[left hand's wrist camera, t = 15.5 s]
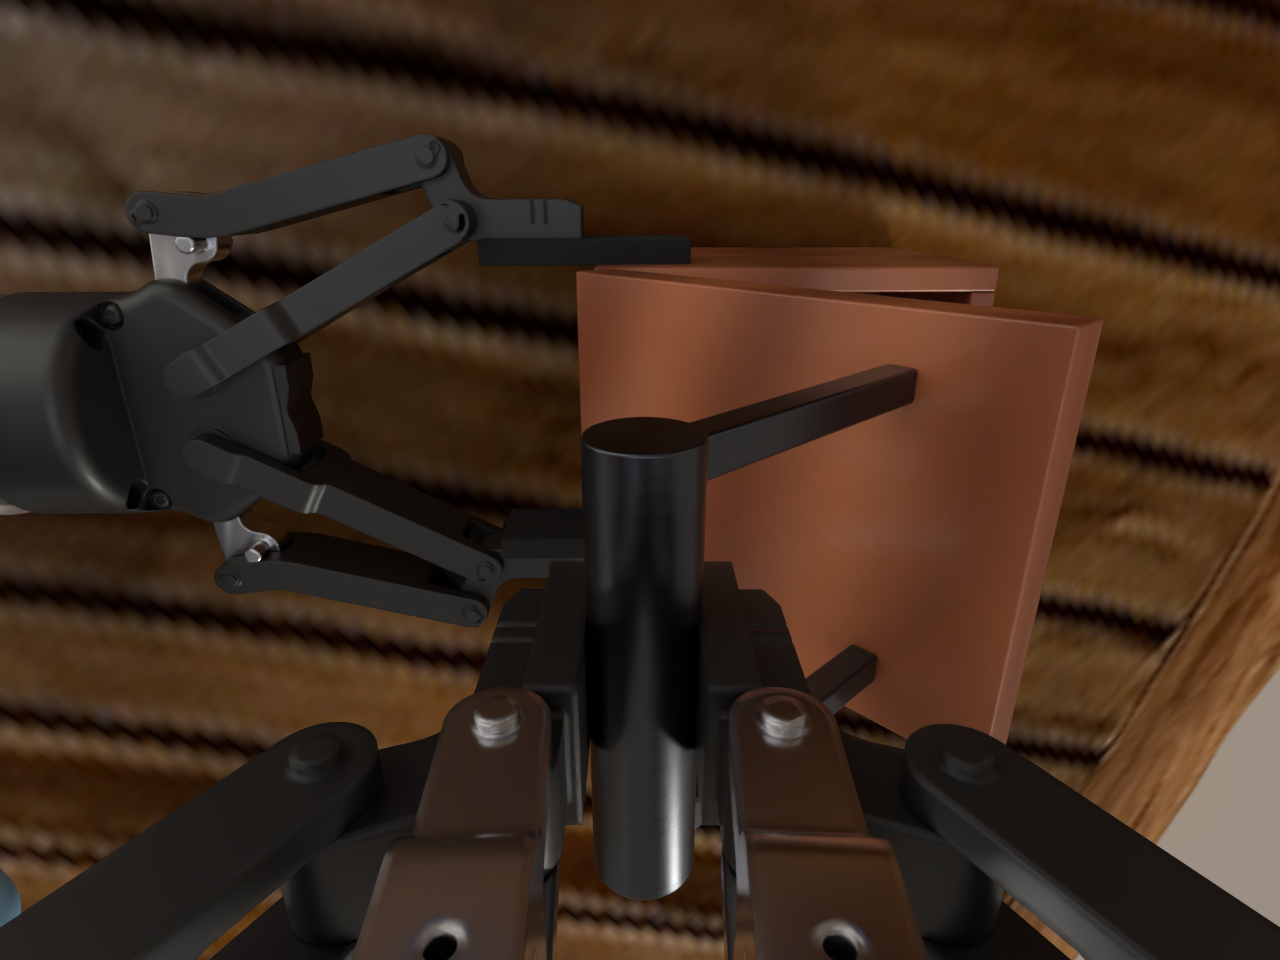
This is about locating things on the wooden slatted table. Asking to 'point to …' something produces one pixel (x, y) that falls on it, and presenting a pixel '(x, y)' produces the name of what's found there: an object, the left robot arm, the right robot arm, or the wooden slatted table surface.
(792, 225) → the wooden slatted table surface
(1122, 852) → the left robot arm
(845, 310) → the lid
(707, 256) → the chest
